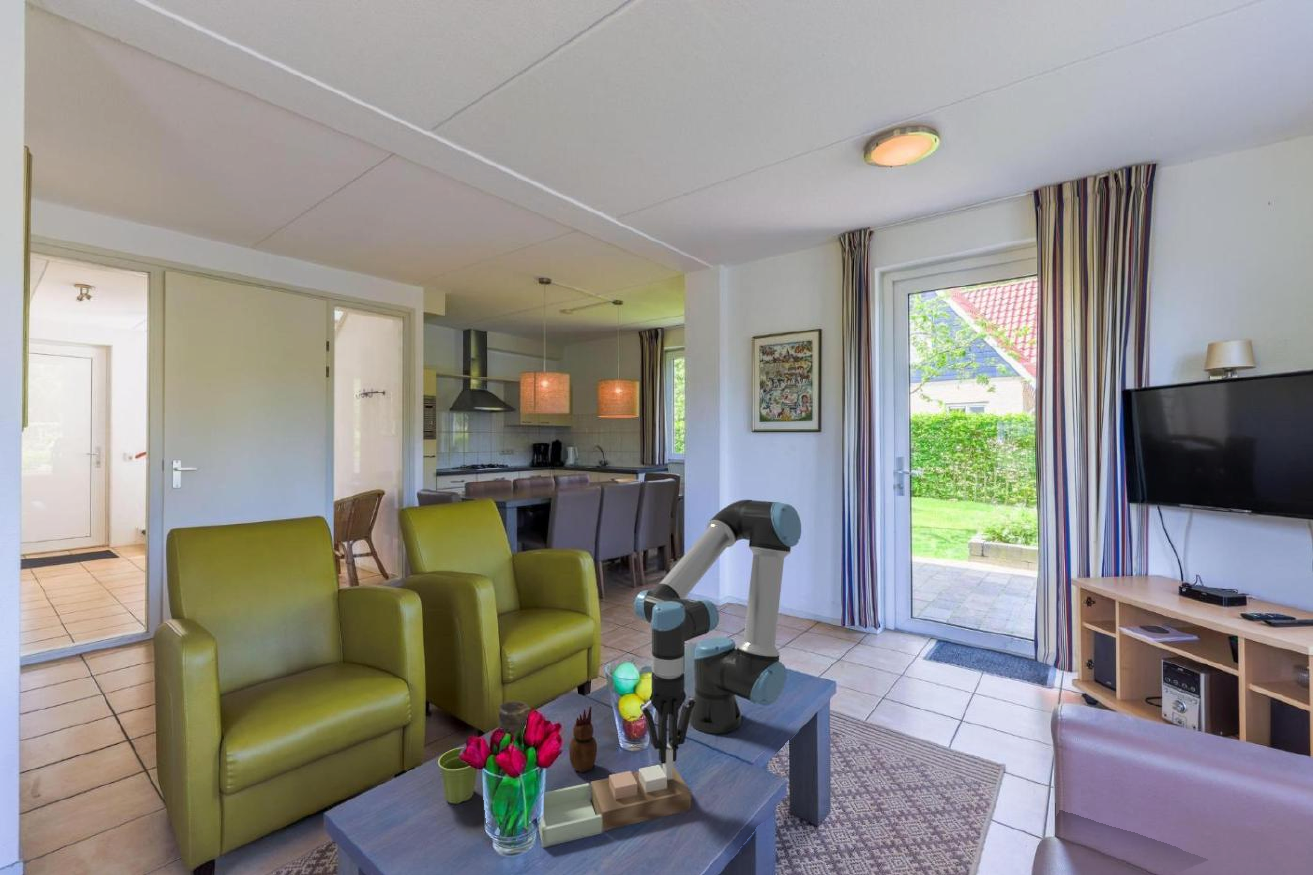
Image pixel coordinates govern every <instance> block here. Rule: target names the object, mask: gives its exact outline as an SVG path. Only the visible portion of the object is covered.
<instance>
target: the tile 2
mask: <svg viewBox="0 0 1313 875" xmlns="http://www.w3.org/2000/svg"><path fill="white" fill-rule="evenodd" d="M661 767H662V766H661V765H660V764H657V765H651V766H647V767H642V768H638V772H639V781H640V783H641V785H642V787H643V789H644V790H645V792H646V793H648V792H652V791H656V790H661V789H665V788H667V776H666V775H665V773H664V771H663V770H662V768H661Z"/></svg>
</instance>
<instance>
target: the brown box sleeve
mask: <svg viewBox="0 0 1313 875" xmlns="http://www.w3.org/2000/svg"><path fill="white" fill-rule="evenodd" d="M660 767H661V768H662V766H660ZM675 767H676V766H674V765H673V778H672V779H667V788H665V789H661V790H656V791H652V792H648V793H646V792H645V790H644V789H643V787H642V785H641V783H640V781H639V771H634V772H631V773H632V775H633V777H634V778H635V780H636V782H637V795H634V796H630V797H625V798H621V799H617V800H615V798H614V796H613V794H612V792H611V789H610V787H609V777H607V778H603V779H598V780H592V781H590V801H591V804H592V807H593V809H594V812H595V815H599V814H601V816H602V832H605V831H609V830H614V829H617V828H618V829H619V828H622V827H625V826H630V825H633V824H639V823H642V822H647V821H650V820H655V819H659V818H663V817H666V816H671V815H675V814H679V813H684V812H687V811H691V810H692V803H691V802H692V796H691V795H692V791H691V790H690V788H689V787H688V785H687V784H686V782H685V781H684V779H683V778H682V776H681V775H680V773H679V771H677V768H675Z"/></svg>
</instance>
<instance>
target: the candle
mask: <svg viewBox="0 0 1313 875" xmlns="http://www.w3.org/2000/svg"><path fill="white" fill-rule="evenodd" d="M529 713H530V714H531V707H530V705H529V704H528V703H526V702H523V701H506V702H503V703H502V704H500V705H499V706H498V729H499V728H502V729H501V730H503V731H504V732H506V733H508V734H512V735H513V734H515V733H517V732H519V731H521V730H523V729H524V727H525V725H526V720H527V715H528V714H529Z"/></svg>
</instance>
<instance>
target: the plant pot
mask: <svg viewBox="0 0 1313 875" xmlns="http://www.w3.org/2000/svg"><path fill="white" fill-rule="evenodd" d="M464 747H465V746H464ZM464 747H457V748H453V749H450V750H448V751H447V752H445V753H443V754H442V755H441V756H439V758H438V761H437V765H438V768H439V769H440V772H441V775H442V782H443V788H444V795H445V796H444V797H445V799H446V802H448V803H450V804H461V803H462V802H466V801H469V800H470V799H471V798H472V797H473V795H474V792H475V785H476V781H477V773H478V768H477V769H475V768H473V767H471V766H469V765H468V764H466V763H465V762H463V761H461V760H460V758H459V753H460V751H461V750H462V749H463V748H464Z"/></svg>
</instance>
